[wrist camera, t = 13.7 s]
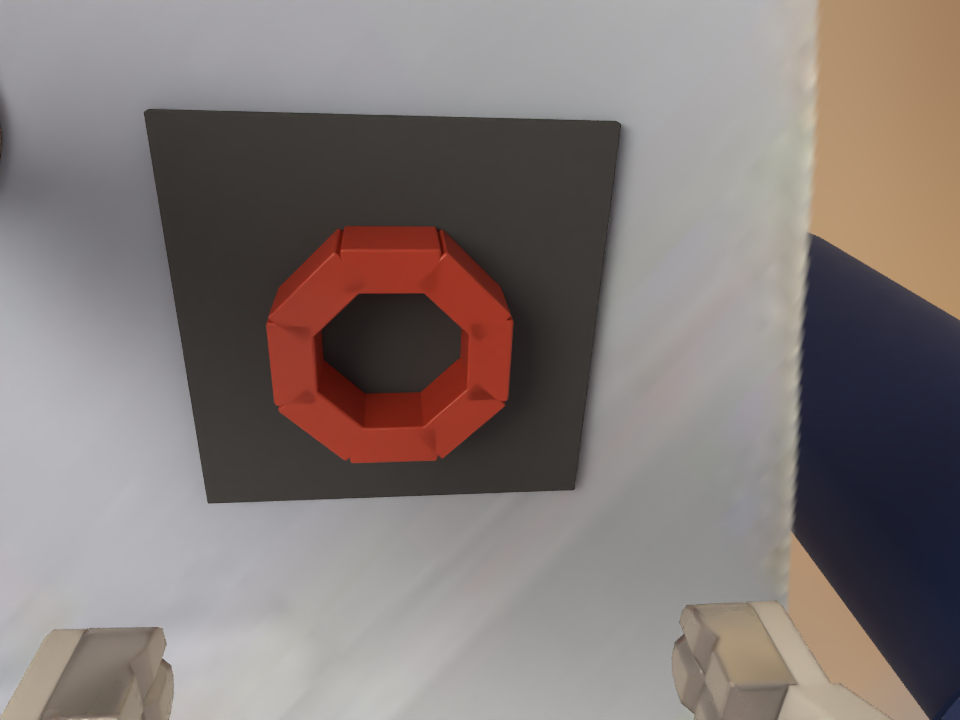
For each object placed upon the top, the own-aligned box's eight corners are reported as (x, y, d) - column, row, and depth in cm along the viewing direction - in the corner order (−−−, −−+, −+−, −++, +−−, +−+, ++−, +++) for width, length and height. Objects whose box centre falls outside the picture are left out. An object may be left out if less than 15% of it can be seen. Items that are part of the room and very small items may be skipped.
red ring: (507, 225, 20) (519, 249, 18) (495, 422, 23) (504, 459, 21) (269, 224, 19) (257, 249, 17) (288, 427, 22) (279, 466, 20)
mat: (617, 120, 19) (621, 123, 19) (572, 483, 25) (574, 490, 25) (147, 108, 18) (143, 111, 18) (210, 496, 23) (207, 504, 23)
